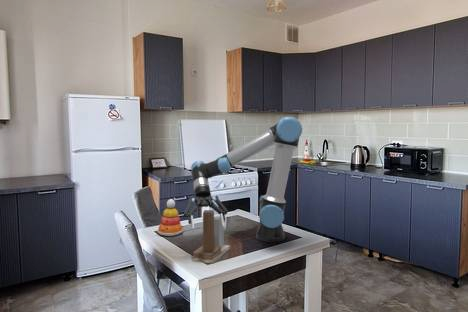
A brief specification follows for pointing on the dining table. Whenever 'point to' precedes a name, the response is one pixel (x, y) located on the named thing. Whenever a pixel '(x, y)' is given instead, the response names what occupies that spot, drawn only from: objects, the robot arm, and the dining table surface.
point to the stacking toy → (170, 221)
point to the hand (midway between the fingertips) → (208, 228)
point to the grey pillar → (218, 232)
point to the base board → (223, 249)
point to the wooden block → (208, 231)
